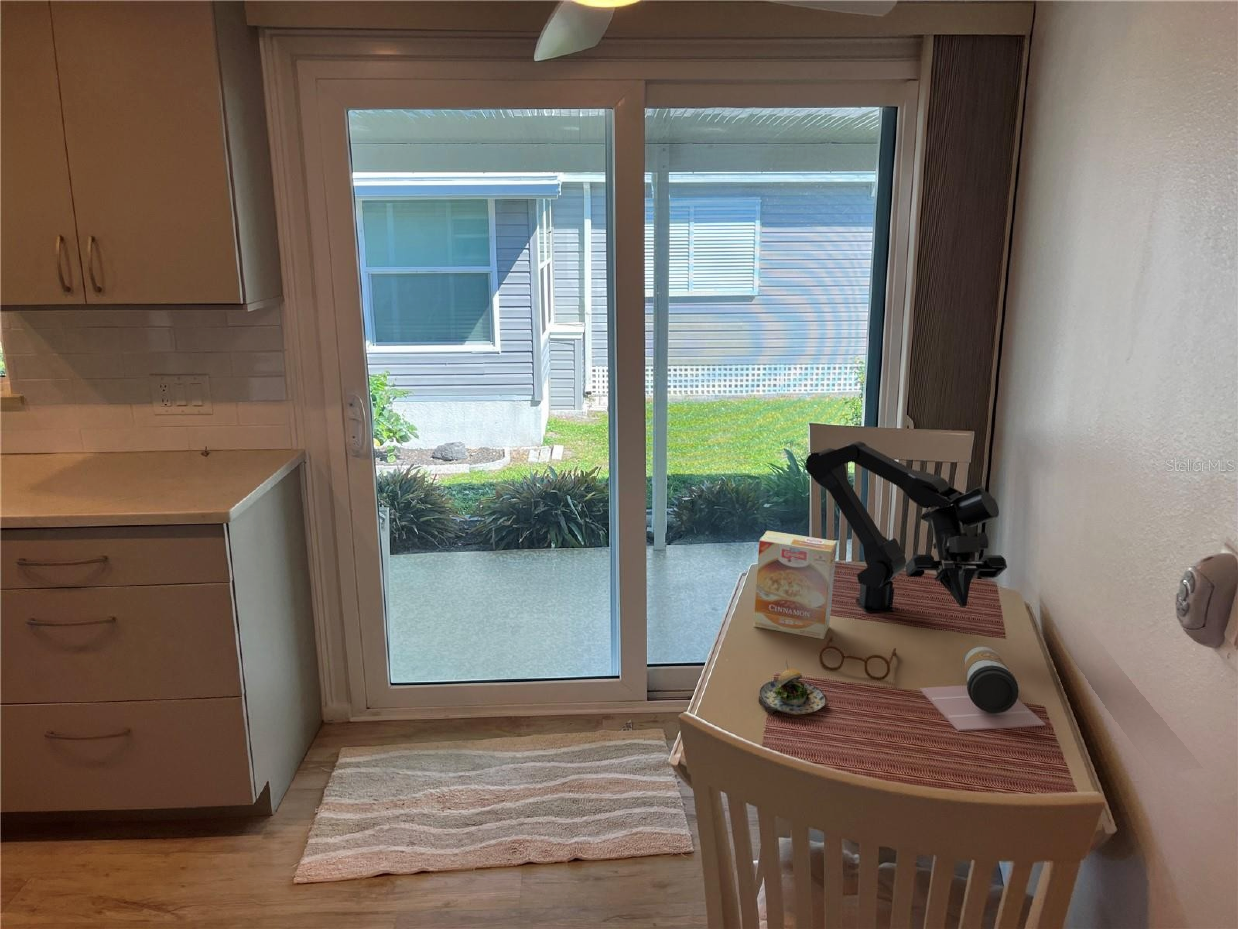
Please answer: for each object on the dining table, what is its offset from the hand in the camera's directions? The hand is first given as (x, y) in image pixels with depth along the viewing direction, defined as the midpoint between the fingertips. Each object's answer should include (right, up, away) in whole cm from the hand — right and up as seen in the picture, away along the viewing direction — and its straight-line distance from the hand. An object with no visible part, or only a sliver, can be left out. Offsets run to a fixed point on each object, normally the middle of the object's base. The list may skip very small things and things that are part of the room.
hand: (963, 606), depth 176 cm
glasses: (-21, -11, -1) cm, 24 cm away
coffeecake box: (-31, -7, +13) cm, 35 cm away
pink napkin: (-4, -15, -17) cm, 23 cm away
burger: (-37, -15, -17) cm, 43 cm away
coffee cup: (0, -9, -8) cm, 12 cm away
